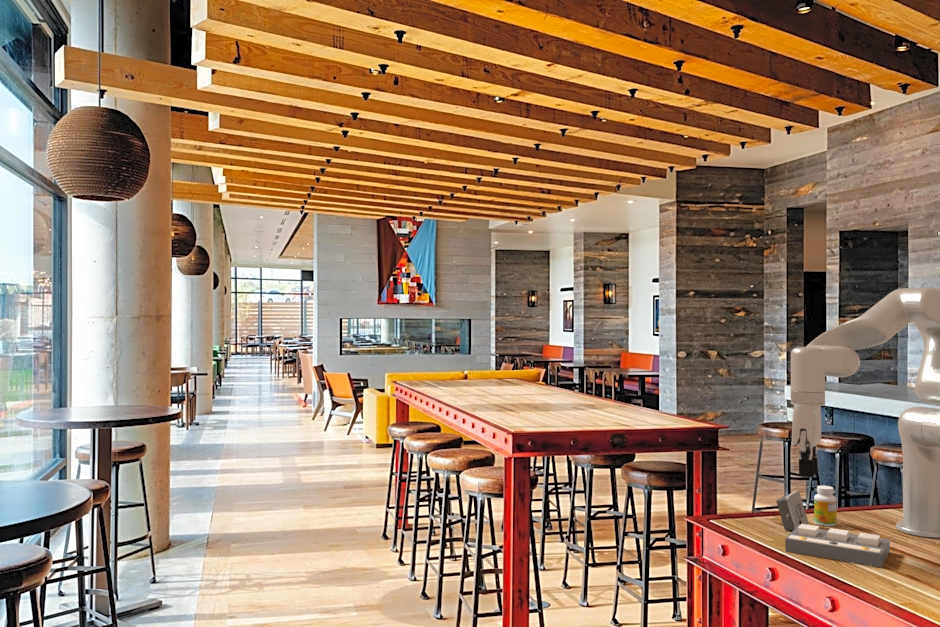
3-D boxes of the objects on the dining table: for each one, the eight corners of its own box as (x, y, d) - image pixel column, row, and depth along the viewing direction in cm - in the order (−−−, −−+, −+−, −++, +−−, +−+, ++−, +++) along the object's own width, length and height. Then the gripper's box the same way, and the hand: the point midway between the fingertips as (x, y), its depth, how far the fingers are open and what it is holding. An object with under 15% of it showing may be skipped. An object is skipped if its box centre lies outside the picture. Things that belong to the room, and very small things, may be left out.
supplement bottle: (809, 522, 201) (809, 485, 201) (826, 520, 203) (825, 484, 203) (824, 527, 196) (824, 490, 196) (841, 525, 198) (841, 488, 198)
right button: (860, 543, 176) (860, 532, 176) (880, 546, 174) (880, 535, 174) (857, 547, 173) (857, 536, 173) (877, 550, 170) (877, 539, 170)
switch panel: (798, 537, 187) (798, 524, 187) (889, 552, 176) (889, 538, 176) (785, 551, 177) (785, 537, 177) (881, 567, 165) (881, 552, 165)
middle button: (830, 538, 180) (830, 528, 180) (849, 541, 177) (849, 530, 177) (827, 542, 177) (827, 532, 177) (845, 545, 174) (845, 535, 174)
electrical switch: (799, 534, 190) (795, 497, 191) (778, 532, 194) (774, 496, 194) (809, 526, 198) (805, 490, 198) (789, 524, 201) (785, 489, 201)
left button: (801, 534, 184) (801, 523, 184) (819, 536, 181) (819, 526, 181) (797, 538, 180) (797, 527, 180) (815, 540, 178) (815, 530, 178)
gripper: (799, 394, 190) (799, 467, 190) (782, 400, 176) (783, 479, 176) (831, 396, 185) (831, 470, 185) (817, 403, 172) (817, 483, 172)
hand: (808, 474), depth 181 cm, fingers open, 3 cm apart
